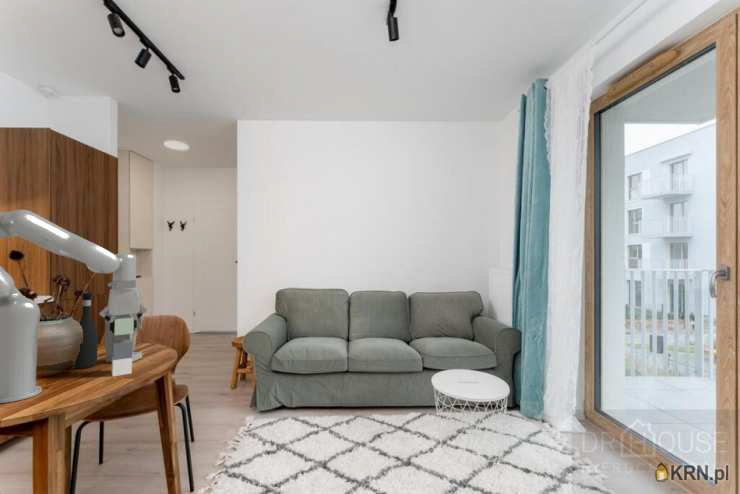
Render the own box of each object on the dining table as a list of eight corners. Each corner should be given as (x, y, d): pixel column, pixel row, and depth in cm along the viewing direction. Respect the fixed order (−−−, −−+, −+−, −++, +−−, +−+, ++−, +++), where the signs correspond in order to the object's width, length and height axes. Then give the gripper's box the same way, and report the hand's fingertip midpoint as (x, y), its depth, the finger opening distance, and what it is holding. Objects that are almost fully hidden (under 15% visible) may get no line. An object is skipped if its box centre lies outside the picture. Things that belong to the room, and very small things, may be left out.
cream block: (112, 376, 138) (113, 360, 138) (111, 372, 142) (111, 356, 142) (131, 373, 141) (132, 357, 142) (129, 369, 146) (130, 354, 146)
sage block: (114, 335, 138) (115, 319, 138) (113, 332, 143) (113, 317, 143) (133, 333, 142) (133, 317, 142) (131, 330, 147) (131, 315, 147)
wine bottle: (77, 364, 152) (80, 292, 152) (100, 363, 154) (102, 291, 155) (68, 370, 144) (70, 294, 145) (92, 368, 146) (94, 293, 147)
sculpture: (148, 358, 162) (150, 290, 163) (134, 363, 154) (136, 292, 155) (117, 357, 163) (119, 289, 164) (101, 362, 155) (104, 291, 156)
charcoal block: (113, 360, 138) (113, 344, 138) (112, 356, 142) (112, 341, 143) (132, 357, 142) (132, 342, 142) (130, 354, 146) (130, 339, 146)
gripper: (97, 287, 134) (96, 336, 134) (151, 284, 145) (150, 330, 145) (96, 285, 140) (95, 332, 140) (148, 283, 151) (147, 327, 151)
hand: (123, 330), depth 142 cm, fingers closed on sage block, 6 cm apart
